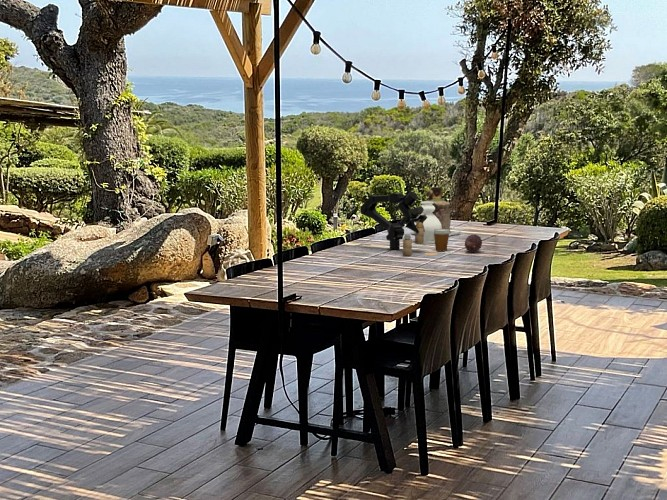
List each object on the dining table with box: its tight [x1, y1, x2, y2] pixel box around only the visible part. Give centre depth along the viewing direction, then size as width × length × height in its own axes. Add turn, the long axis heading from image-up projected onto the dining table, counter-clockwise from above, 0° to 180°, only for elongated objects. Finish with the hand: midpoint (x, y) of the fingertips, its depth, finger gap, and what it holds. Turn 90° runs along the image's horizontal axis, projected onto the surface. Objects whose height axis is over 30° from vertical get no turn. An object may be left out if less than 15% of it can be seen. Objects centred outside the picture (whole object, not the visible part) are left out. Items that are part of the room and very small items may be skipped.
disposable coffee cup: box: [433, 229, 450, 252], centre depth 497 cm, size 10×10×12 cm
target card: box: [400, 252, 438, 258], centre depth 477 cm, size 11×22×1 cm, turn 114°
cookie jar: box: [410, 185, 462, 237], centre depth 561 cm, size 25×25×32 cm
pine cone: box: [464, 234, 483, 253], centre depth 492 cm, size 18×10×10 cm, turn 164°
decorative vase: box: [412, 200, 442, 245], centre depth 526 cm, size 18×18×25 cm
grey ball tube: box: [402, 233, 413, 258], centre depth 473 cm, size 5×5×12 cm
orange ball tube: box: [414, 222, 425, 245], centre depth 485 cm, size 5×5×12 cm
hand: (421, 232), depth 484 cm, fingers closed on orange ball tube, 5 cm apart
